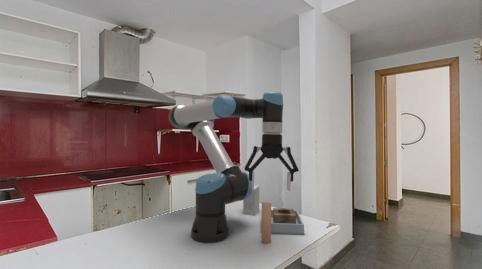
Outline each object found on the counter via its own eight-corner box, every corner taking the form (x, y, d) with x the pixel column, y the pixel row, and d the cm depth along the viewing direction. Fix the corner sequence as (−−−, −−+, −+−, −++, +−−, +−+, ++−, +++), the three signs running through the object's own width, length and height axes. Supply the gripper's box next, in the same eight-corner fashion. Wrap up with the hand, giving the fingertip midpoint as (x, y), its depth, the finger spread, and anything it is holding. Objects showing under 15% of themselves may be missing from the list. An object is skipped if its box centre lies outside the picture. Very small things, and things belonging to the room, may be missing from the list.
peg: (261, 243, 87) (261, 205, 87) (261, 238, 91) (261, 202, 91) (271, 243, 87) (271, 205, 87) (270, 239, 91) (270, 202, 90)
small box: (247, 209, 126) (248, 184, 126) (259, 210, 124) (259, 185, 124) (242, 213, 119) (242, 187, 119) (255, 215, 117) (255, 188, 116)
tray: (260, 233, 96) (261, 223, 96) (261, 217, 113) (261, 209, 113) (303, 234, 95) (304, 224, 95) (297, 219, 112) (297, 210, 111)
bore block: (274, 227, 100) (274, 214, 100) (273, 219, 109) (273, 208, 109) (295, 228, 99) (296, 215, 99) (293, 220, 108) (293, 208, 108)
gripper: (239, 133, 86) (237, 191, 87) (308, 134, 86) (306, 192, 87) (239, 132, 93) (237, 186, 94) (302, 134, 94) (300, 187, 94)
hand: (270, 189), depth 90 cm, fingers open, 13 cm apart
